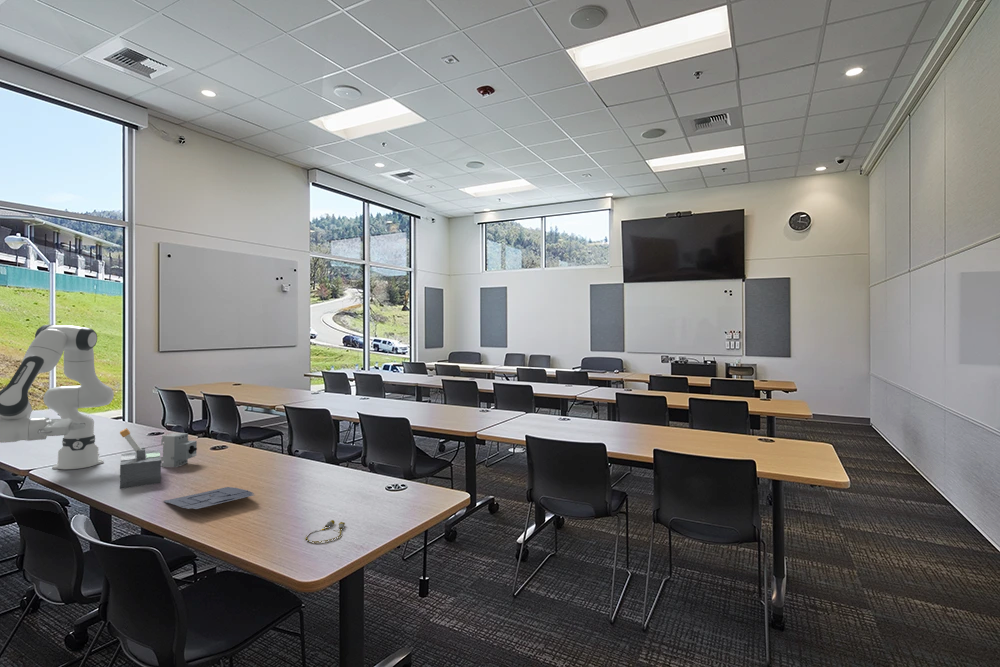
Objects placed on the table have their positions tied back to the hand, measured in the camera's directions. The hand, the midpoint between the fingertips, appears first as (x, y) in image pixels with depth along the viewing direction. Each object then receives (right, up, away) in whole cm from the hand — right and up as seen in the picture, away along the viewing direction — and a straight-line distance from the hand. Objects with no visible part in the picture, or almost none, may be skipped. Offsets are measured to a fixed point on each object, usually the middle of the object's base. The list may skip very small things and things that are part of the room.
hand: (85, 425), depth 205 cm
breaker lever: (+16, -16, +12) cm, 25 cm away
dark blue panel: (+62, -28, -16) cm, 70 cm away
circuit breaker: (+17, -26, +35) cm, 47 cm away
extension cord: (+117, -29, -43) cm, 128 cm away
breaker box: (+15, -26, +11) cm, 32 cm away
